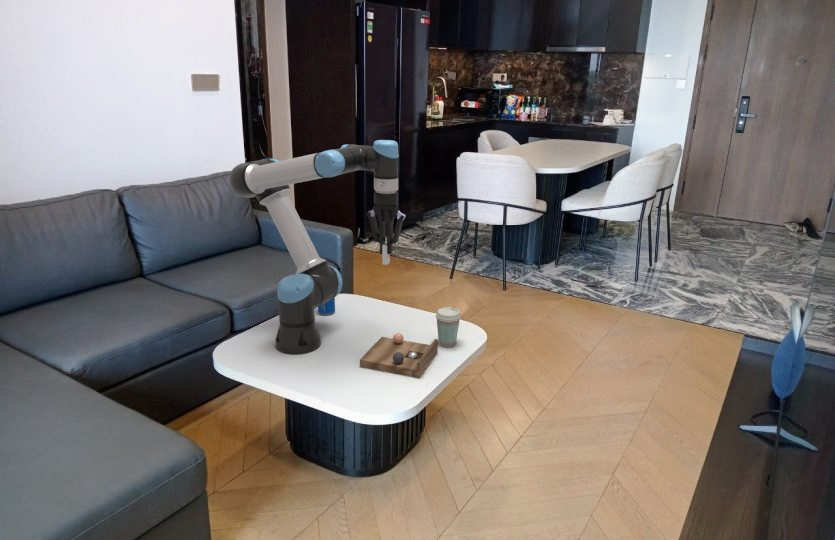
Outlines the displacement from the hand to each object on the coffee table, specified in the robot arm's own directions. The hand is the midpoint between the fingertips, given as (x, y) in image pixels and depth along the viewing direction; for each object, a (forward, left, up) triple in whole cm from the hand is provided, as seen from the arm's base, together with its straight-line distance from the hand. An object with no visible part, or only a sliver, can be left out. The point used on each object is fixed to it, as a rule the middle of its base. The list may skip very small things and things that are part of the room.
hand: (386, 263), depth 189 cm
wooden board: (+8, -8, -29) cm, 32 cm away
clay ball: (+5, -2, -25) cm, 26 cm away
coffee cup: (+19, +9, -30) cm, 36 cm away
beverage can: (-32, +18, -30) cm, 47 cm away
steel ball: (+12, -8, -28) cm, 31 cm away
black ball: (+10, -14, -25) cm, 31 cm away
